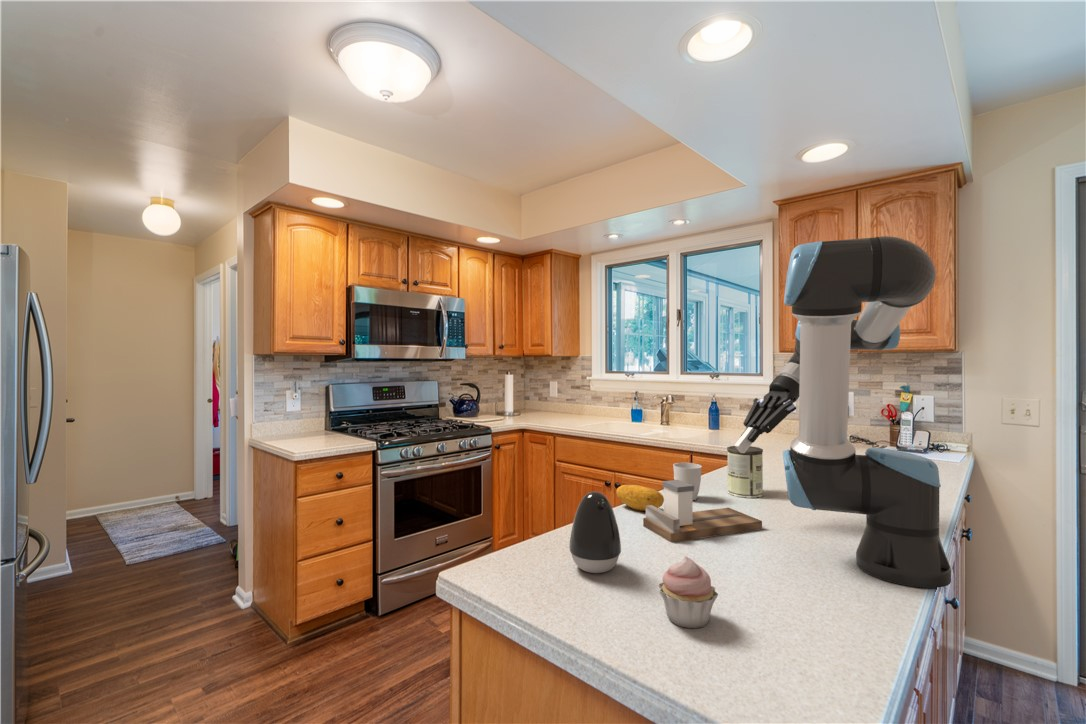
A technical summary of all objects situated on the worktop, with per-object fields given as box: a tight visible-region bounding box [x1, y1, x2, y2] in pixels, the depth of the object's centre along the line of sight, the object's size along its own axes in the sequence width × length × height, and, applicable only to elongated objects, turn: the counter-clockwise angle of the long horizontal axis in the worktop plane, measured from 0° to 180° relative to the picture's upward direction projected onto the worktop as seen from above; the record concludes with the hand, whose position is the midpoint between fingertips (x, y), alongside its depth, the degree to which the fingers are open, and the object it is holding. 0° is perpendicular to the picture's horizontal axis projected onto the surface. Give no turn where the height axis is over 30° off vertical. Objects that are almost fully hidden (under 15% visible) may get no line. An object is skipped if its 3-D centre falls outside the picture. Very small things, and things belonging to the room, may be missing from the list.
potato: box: [615, 484, 664, 512], centre depth 140 cm, size 8×14×7 cm, turn 44°
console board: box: [642, 505, 763, 543], centre depth 125 cm, size 26×12×5 cm, turn 110°
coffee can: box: [726, 445, 764, 499], centre depth 156 cm, size 10×10×14 cm
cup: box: [672, 462, 703, 501], centre depth 150 cm, size 8×8×10 cm
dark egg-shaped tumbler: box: [569, 491, 622, 574], centre depth 100 cm, size 10×10×15 cm
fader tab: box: [661, 479, 694, 526], centre depth 122 cm, size 5×6×9 cm
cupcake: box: [657, 555, 719, 629], centre depth 81 cm, size 9×9×10 cm
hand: (739, 449), depth 129 cm, fingers closed
